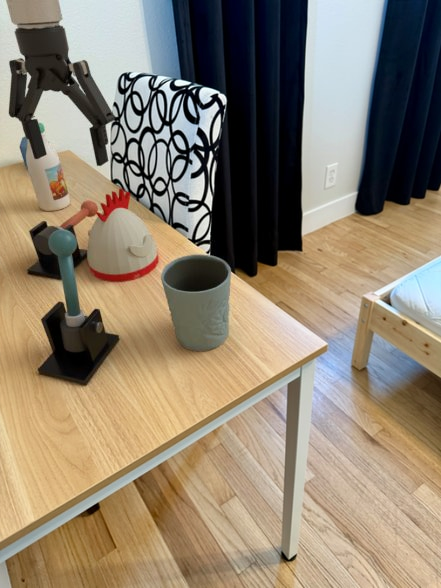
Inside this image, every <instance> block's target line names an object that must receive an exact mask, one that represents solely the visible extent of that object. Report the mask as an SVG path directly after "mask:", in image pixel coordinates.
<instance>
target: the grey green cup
mask: <svg viewBox="0 0 441 588" xmlns="http://www.w3.org/2000/svg"><path fill="white" fill-rule="evenodd" d="M160 279H161V284H162V288H163V291H164V293H165V299H166V300H167V302H166V303H167V305H168V309H169V310H168V311H169V312H170V317H171V323H172V325H173V328H174V334H175V337H176V340H177V342H178V344H179V345H180V346H182V347H184V348H185V349H187V350H190V351H195V352H205V351H208V352H209V351H211V350H215V349H217V348H218V347H219V346H221V345H223V343H224V342H225V341H227V339H228V336H229V328H230V327H229V326H230V325H229V323H230V319H229V316H230V303H229V301H230V295H231V282H232V281H231V279H232V268H231V267H230V265H229V264H228V262H227V261H226V260H224V259H222V258H220V257H217V256H215V255H211V254H198V253H197V254H196V253H195V254H188V255H185V256H181V257H178V258H175V259H174V260H172V261H170V262H168V263H167V264H166V265H165V266H164V268H163V269H162V271H161V275H160Z"/></svg>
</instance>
